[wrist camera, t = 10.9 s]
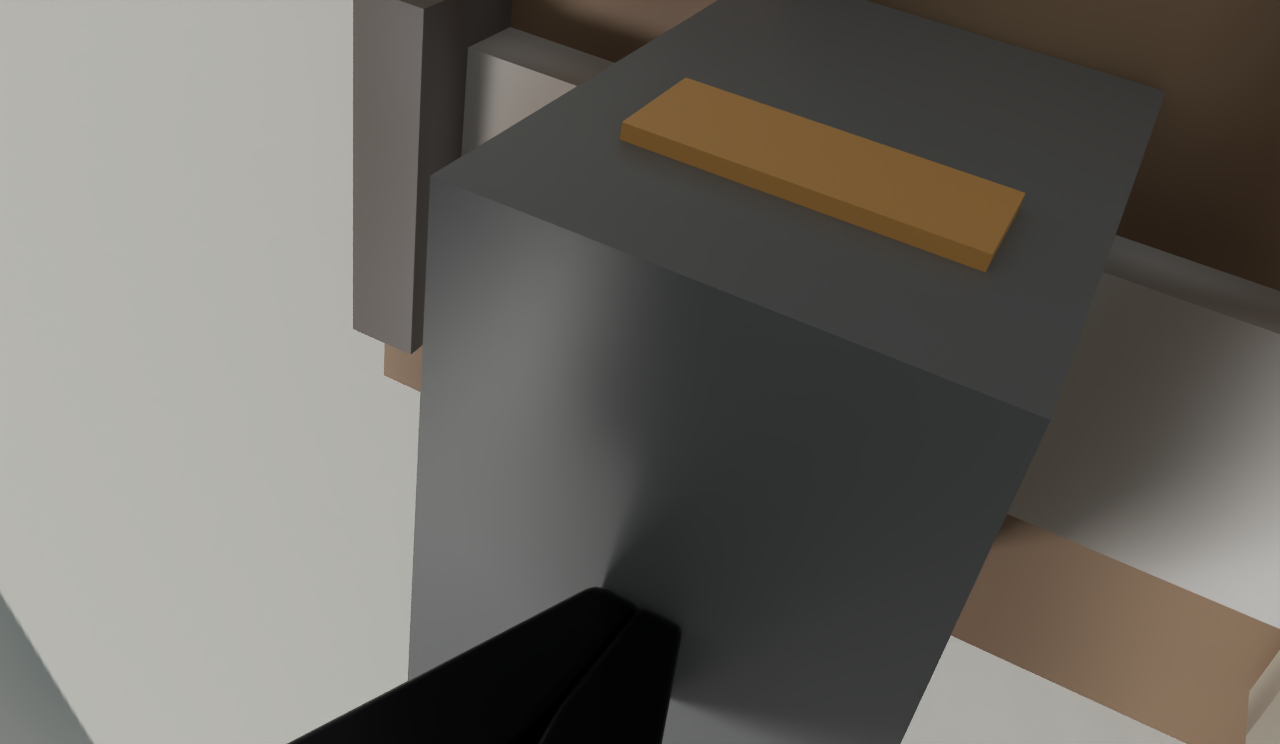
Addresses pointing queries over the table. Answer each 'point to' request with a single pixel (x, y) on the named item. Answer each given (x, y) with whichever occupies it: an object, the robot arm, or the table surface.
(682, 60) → the block
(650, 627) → the robot arm
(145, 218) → the table surface
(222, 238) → the table surface
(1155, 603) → the din panel
